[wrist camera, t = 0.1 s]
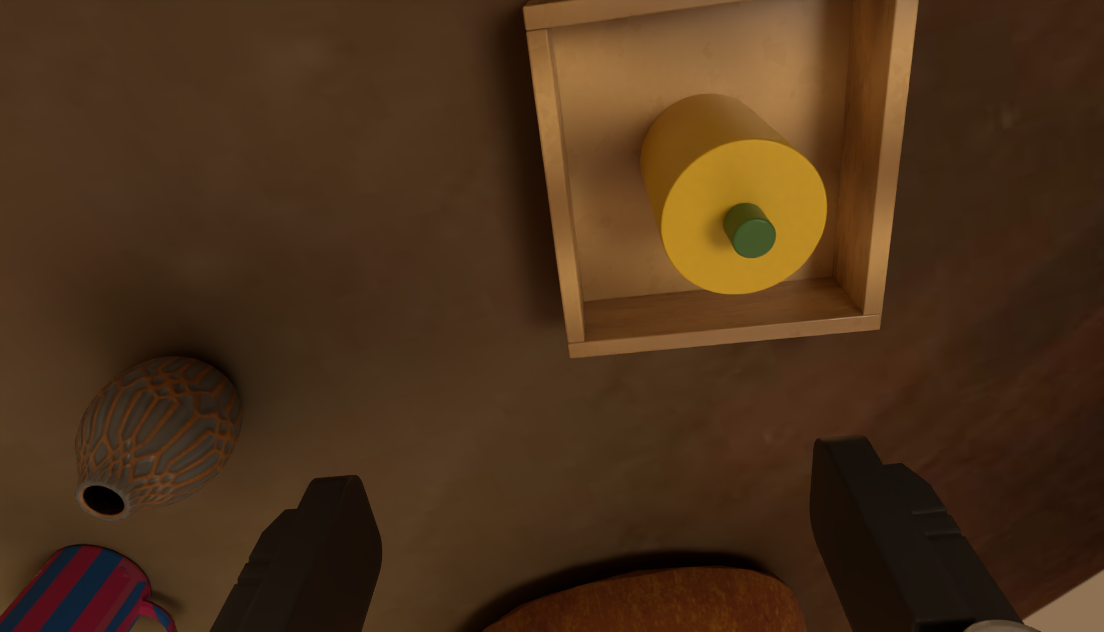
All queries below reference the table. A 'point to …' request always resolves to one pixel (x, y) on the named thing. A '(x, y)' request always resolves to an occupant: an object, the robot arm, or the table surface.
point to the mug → (84, 595)
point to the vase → (155, 436)
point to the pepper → (730, 195)
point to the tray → (767, 89)
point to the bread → (665, 604)
